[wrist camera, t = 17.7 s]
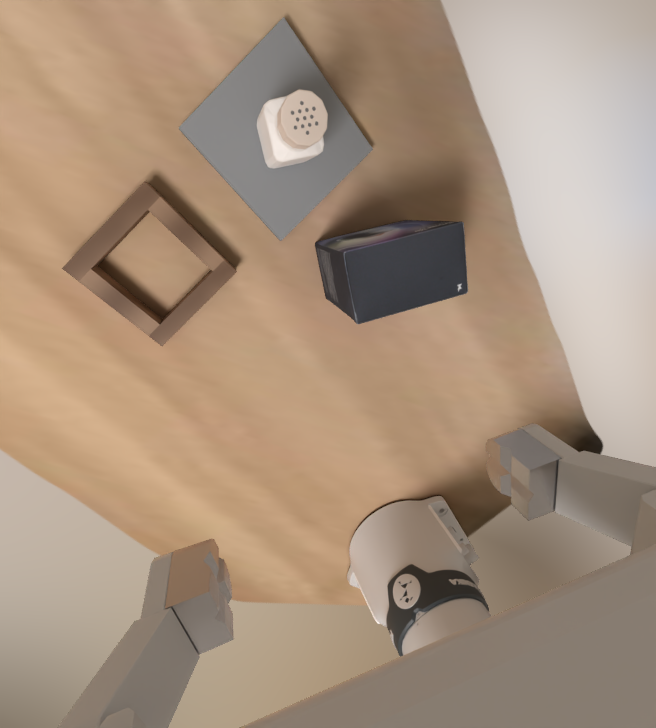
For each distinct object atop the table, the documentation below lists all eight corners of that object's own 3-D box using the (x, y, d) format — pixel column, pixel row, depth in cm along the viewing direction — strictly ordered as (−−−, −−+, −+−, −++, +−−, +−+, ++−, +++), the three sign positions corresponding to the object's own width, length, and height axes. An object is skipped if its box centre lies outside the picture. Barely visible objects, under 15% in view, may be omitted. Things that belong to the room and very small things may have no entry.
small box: (408, 214, 40) (467, 216, 31) (415, 276, 43) (471, 295, 33) (312, 239, 38) (343, 249, 29) (325, 301, 41) (357, 329, 32)
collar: (235, 268, 37) (236, 271, 36) (164, 339, 38) (162, 346, 36) (148, 183, 33) (144, 181, 31) (70, 265, 34) (61, 268, 32)
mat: (369, 150, 37) (373, 149, 36) (279, 240, 37) (280, 240, 37) (281, 22, 31) (283, 17, 30) (179, 129, 32) (178, 127, 31)
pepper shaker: (253, 118, 32) (266, 87, 24) (299, 110, 33) (327, 76, 25) (266, 170, 34) (282, 158, 26) (309, 161, 35) (339, 146, 26)
